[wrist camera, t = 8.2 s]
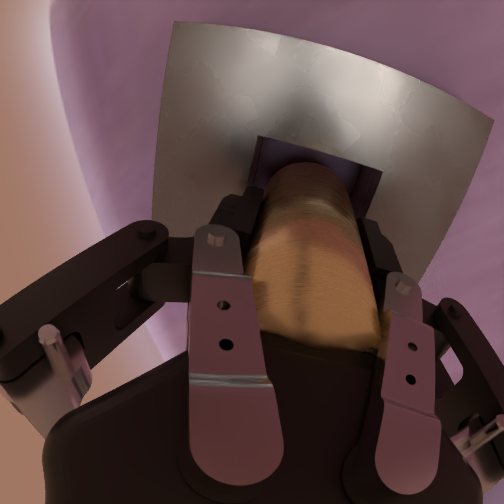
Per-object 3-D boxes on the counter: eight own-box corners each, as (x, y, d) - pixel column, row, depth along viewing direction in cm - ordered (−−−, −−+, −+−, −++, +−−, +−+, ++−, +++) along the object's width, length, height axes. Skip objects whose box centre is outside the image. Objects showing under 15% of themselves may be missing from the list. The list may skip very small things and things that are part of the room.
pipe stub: (273, 151, 13) (229, 286, 6) (360, 176, 13) (417, 330, 6) (255, 228, 15) (208, 390, 8) (332, 249, 15) (342, 416, 8)
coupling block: (200, 28, 13) (174, 21, 10) (461, 106, 12) (494, 120, 10) (171, 252, 21) (151, 286, 18) (372, 303, 20) (379, 342, 18)
